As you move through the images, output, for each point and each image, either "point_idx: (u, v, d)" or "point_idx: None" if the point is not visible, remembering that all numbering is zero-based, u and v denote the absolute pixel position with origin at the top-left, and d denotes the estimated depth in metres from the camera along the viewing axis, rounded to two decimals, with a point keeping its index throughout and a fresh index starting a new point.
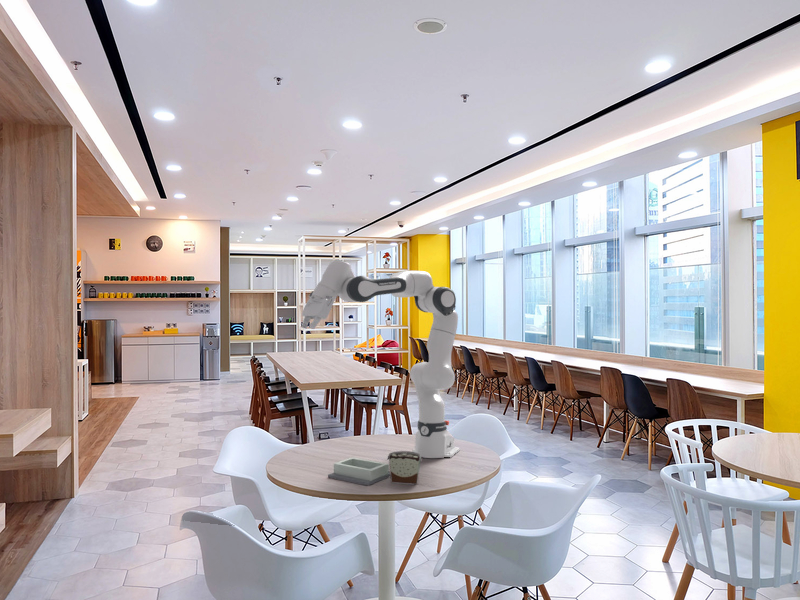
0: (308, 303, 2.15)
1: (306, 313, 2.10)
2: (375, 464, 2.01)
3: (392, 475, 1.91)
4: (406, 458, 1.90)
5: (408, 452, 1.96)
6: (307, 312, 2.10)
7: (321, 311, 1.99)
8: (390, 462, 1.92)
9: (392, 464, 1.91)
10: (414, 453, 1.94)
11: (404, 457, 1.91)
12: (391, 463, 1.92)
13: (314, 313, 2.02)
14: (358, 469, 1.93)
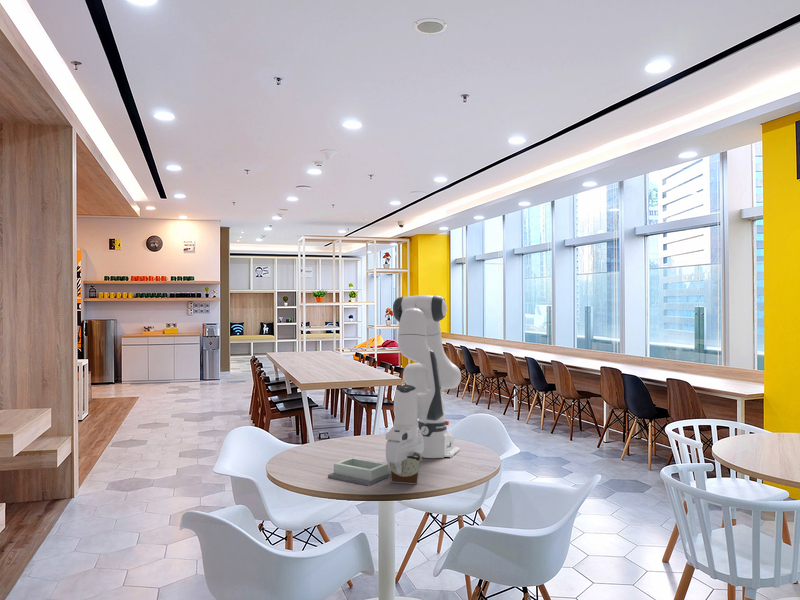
0: (398, 447, 1.86)
1: (403, 458, 1.89)
2: (375, 464, 2.01)
3: (392, 474, 1.91)
4: None
5: None
6: (404, 456, 1.89)
7: None
8: None
9: (392, 464, 1.92)
10: (414, 453, 1.95)
11: None
12: None
13: None
14: (358, 469, 1.93)
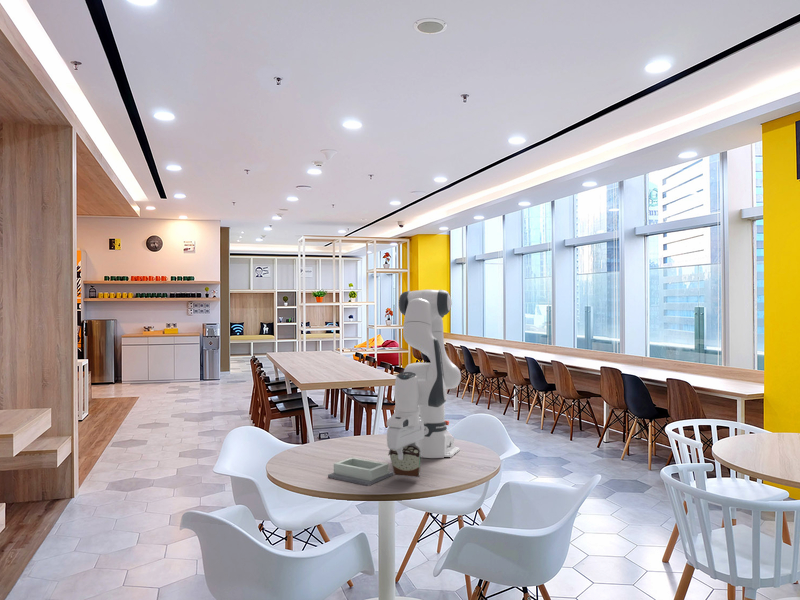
0: (399, 434, 1.87)
1: (404, 444, 1.90)
2: (375, 464, 2.01)
3: (394, 469, 1.94)
4: (406, 454, 1.91)
5: None
6: (406, 442, 1.90)
7: None
8: (391, 457, 1.93)
9: (393, 459, 1.93)
10: (415, 446, 1.95)
11: (404, 453, 1.92)
12: (392, 458, 1.93)
13: (418, 439, 1.97)
14: (358, 469, 1.93)
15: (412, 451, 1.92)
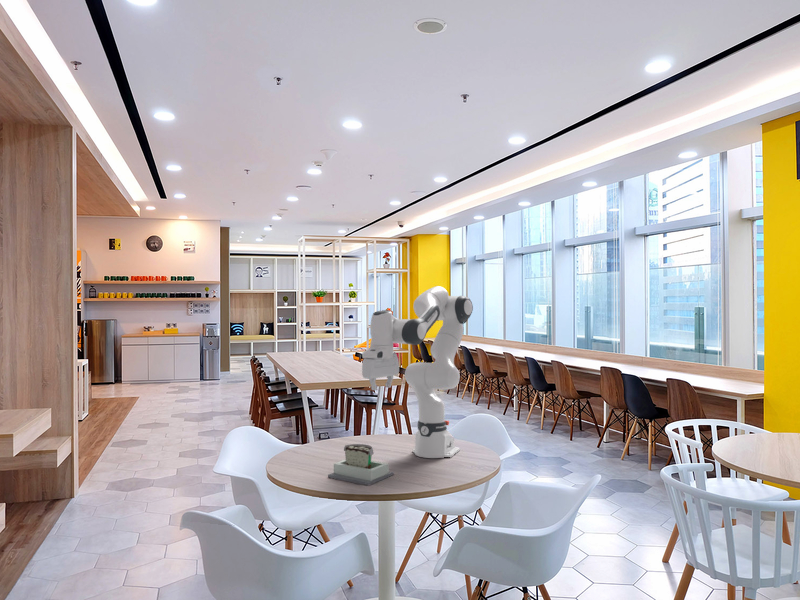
0: (374, 364, 2.00)
1: (379, 375, 2.03)
2: (375, 464, 2.01)
3: None
4: (358, 451, 1.96)
5: (366, 445, 2.01)
6: (380, 374, 2.04)
7: None
8: (346, 453, 1.99)
9: (347, 456, 1.99)
10: (370, 447, 1.99)
11: (357, 450, 1.97)
12: (347, 454, 1.99)
13: (392, 373, 2.11)
14: (358, 469, 1.93)
15: (365, 449, 1.97)
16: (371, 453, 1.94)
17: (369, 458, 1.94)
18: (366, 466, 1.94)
